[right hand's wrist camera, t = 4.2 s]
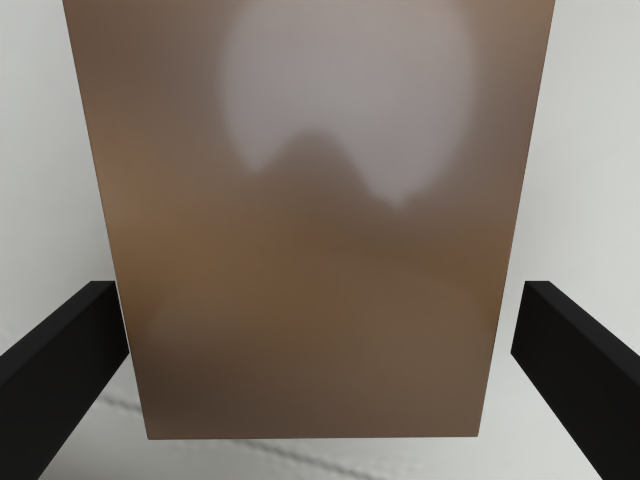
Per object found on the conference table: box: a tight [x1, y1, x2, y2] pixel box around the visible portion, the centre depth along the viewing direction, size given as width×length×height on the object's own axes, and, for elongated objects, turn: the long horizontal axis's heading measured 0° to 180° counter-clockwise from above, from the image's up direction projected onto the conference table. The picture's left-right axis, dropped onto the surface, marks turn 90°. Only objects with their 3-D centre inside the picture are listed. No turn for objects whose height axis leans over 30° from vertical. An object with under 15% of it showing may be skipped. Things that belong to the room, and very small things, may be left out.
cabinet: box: [62, 0, 555, 440], centre depth 13 cm, size 21×10×8 cm, turn 0°
